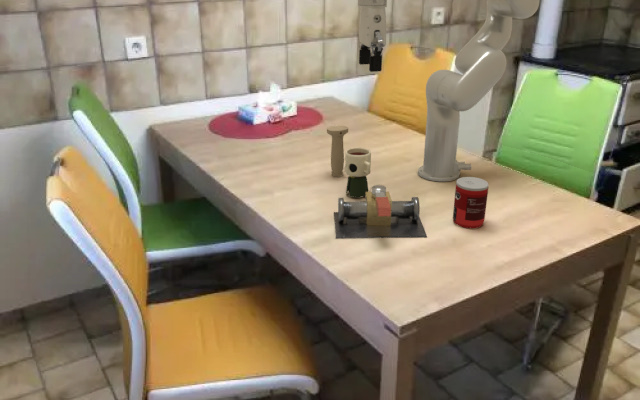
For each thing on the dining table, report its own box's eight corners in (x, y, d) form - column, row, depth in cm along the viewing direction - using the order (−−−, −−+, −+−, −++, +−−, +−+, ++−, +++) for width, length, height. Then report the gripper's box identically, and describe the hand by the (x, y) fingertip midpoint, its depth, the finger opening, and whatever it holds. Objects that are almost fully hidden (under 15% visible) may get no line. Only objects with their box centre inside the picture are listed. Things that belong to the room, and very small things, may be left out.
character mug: (335, 191, 169) (336, 148, 163) (356, 186, 172) (356, 143, 167) (358, 204, 160) (359, 159, 155) (379, 198, 164) (380, 154, 158)
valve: (417, 212, 155) (418, 188, 153) (426, 237, 143) (428, 211, 140) (333, 213, 155) (334, 189, 152) (336, 238, 142) (336, 212, 140)
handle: (350, 176, 179) (350, 129, 173) (330, 179, 177) (331, 131, 171) (343, 171, 183) (343, 124, 177) (324, 174, 181) (324, 127, 175)
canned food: (460, 213, 155) (464, 174, 151) (489, 221, 151) (494, 181, 146) (446, 223, 150) (450, 183, 145) (475, 232, 145) (480, 191, 141)
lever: (370, 192, 149) (371, 183, 148) (384, 192, 149) (385, 183, 148) (376, 217, 136) (376, 207, 135) (392, 216, 136) (392, 207, 135)
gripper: (397, 3, 145) (393, 73, 152) (376, -3, 160) (373, 61, 167) (368, 4, 143) (365, 74, 150) (349, -2, 159) (348, 62, 166)
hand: (369, 67), depth 159 cm, fingers open, 9 cm apart
